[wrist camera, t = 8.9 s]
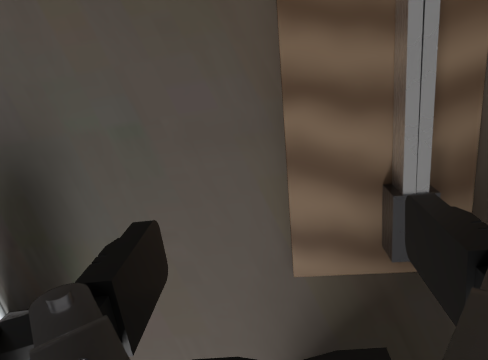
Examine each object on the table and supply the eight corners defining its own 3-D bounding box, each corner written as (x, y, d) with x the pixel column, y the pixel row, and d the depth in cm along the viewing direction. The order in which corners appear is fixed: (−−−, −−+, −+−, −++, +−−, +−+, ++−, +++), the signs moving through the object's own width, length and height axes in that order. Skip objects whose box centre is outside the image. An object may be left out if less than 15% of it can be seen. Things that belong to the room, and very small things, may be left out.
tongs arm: (385, -63, 27) (399, -78, 24) (411, -67, 27) (427, -82, 24) (381, 245, 34) (392, 262, 31) (401, 244, 34) (413, 261, 31)
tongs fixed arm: (393, -120, 26) (408, -142, 23) (442, -127, 25) (464, -150, 23) (385, 245, 34) (395, 261, 31) (422, 243, 34) (436, 259, 31)
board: (267, -135, 27) (267, -146, 26) (496, -170, 26) (510, -183, 24) (293, 268, 37) (294, 277, 36) (458, 261, 36) (466, 269, 34)
